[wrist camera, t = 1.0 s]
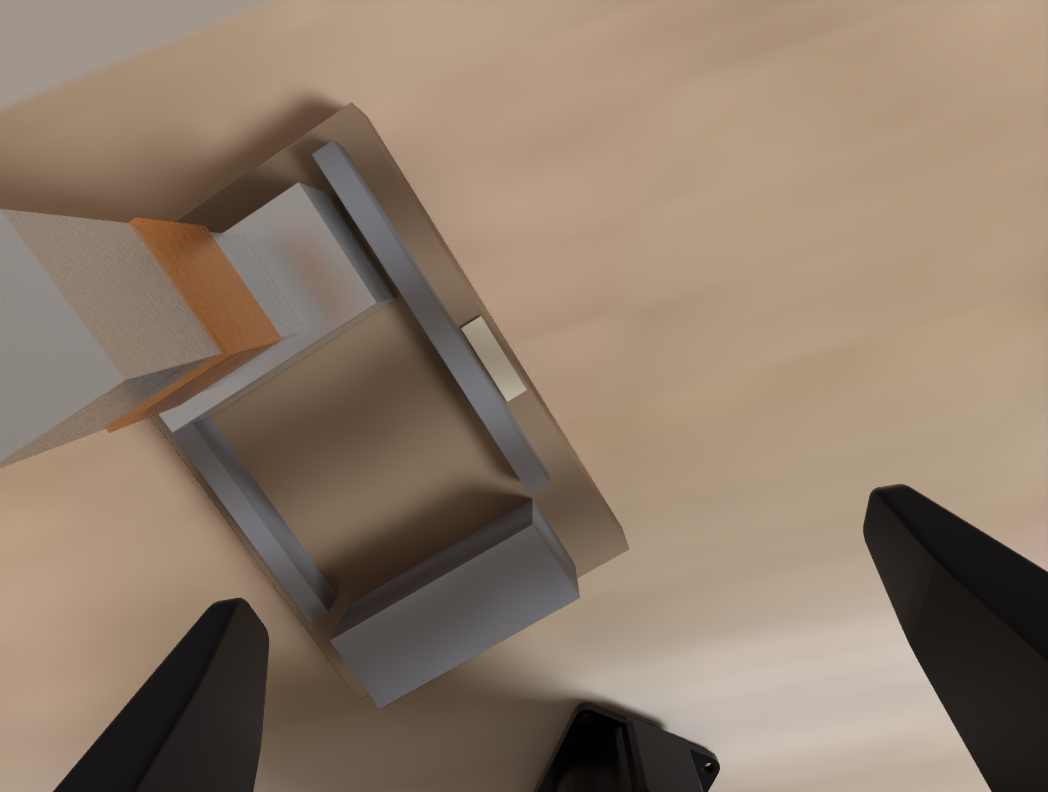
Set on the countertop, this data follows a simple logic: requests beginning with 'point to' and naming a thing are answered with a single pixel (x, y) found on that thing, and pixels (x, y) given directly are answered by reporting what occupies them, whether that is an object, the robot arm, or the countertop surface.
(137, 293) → the sliding jaw
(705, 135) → the countertop surface
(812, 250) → the countertop surface
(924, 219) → the countertop surface
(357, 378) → the base
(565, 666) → the countertop surface
